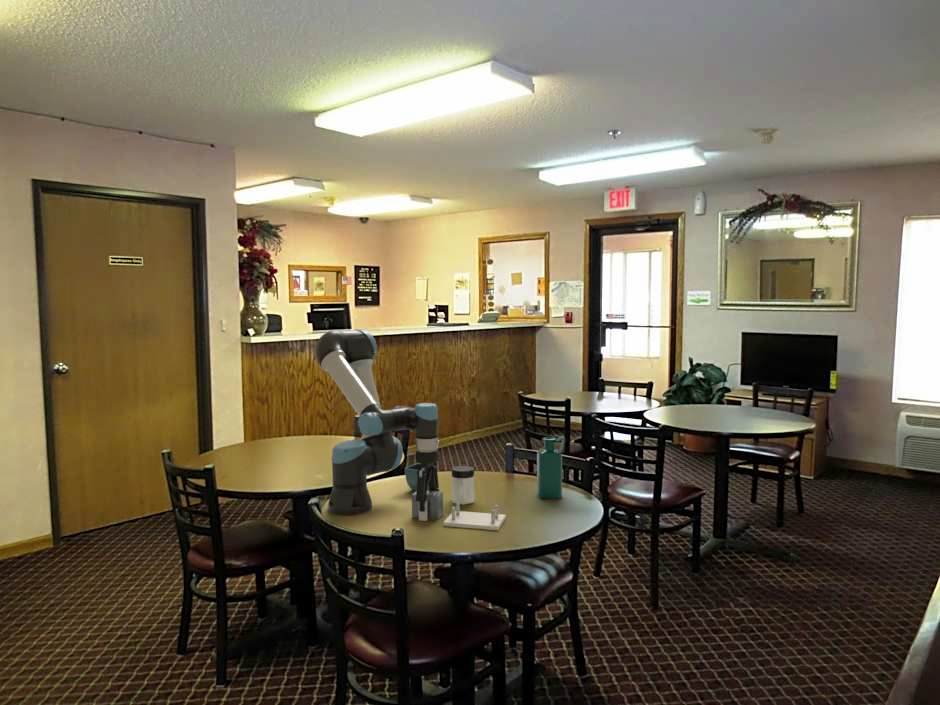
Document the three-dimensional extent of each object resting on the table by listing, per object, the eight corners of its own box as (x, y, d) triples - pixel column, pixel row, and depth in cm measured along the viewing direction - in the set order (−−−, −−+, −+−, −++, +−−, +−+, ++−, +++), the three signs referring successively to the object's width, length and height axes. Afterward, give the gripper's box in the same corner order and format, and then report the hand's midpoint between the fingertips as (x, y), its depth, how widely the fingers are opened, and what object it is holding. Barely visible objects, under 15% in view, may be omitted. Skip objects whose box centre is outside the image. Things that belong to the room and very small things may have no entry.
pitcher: (539, 499, 235) (539, 439, 233) (536, 492, 243) (536, 435, 242) (566, 498, 235) (566, 439, 234) (562, 492, 244) (562, 434, 242)
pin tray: (443, 525, 207) (443, 510, 207) (453, 514, 219) (453, 499, 219) (497, 530, 203) (497, 514, 202) (505, 518, 214) (505, 502, 214)
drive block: (412, 518, 216) (411, 494, 215) (418, 512, 221) (417, 489, 221) (437, 520, 213) (437, 496, 213) (443, 514, 219) (443, 490, 218)
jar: (458, 506, 228) (458, 472, 227) (446, 500, 235) (446, 468, 234) (479, 501, 233) (479, 469, 232) (467, 496, 240) (467, 464, 239)
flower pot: (422, 494, 242) (422, 470, 242) (404, 491, 247) (403, 468, 246) (436, 488, 250) (435, 465, 249) (417, 485, 255) (417, 463, 254)
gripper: (427, 457, 204) (428, 527, 206) (447, 443, 225) (448, 506, 227) (404, 456, 206) (405, 525, 208) (427, 442, 227) (428, 505, 229)
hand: (428, 515), depth 217 cm, fingers open, 9 cm apart
